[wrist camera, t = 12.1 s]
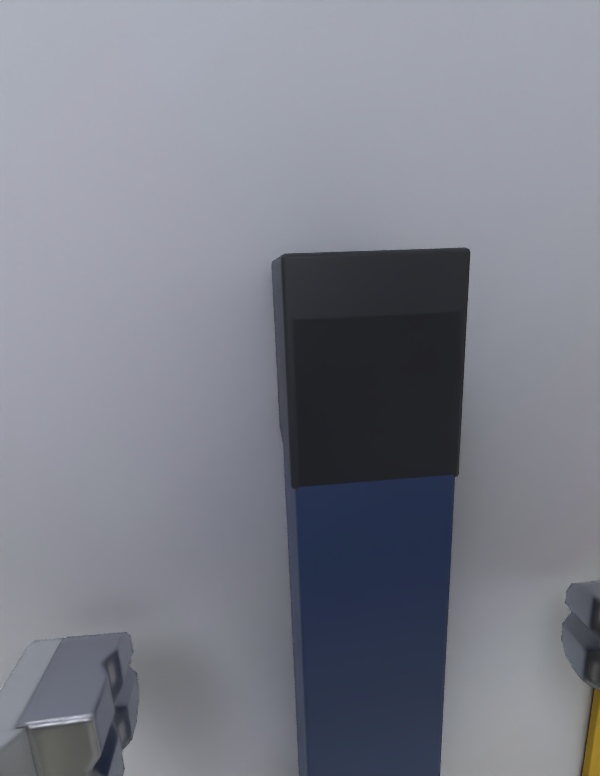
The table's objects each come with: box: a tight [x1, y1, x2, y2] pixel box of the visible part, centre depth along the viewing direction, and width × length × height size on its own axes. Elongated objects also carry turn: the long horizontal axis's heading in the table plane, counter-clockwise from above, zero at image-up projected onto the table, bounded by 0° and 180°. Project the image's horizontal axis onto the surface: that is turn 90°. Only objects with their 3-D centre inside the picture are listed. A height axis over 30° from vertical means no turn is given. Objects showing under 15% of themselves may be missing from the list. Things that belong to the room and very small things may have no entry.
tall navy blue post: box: [272, 248, 470, 776], centre depth 8 cm, size 14×2×3 cm, turn 2°
